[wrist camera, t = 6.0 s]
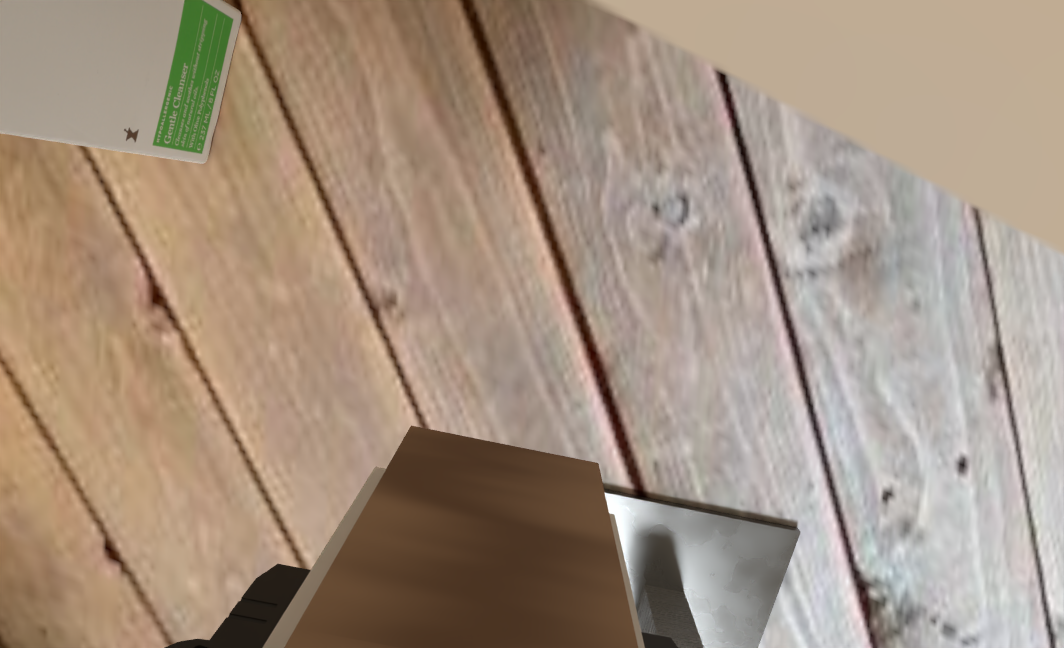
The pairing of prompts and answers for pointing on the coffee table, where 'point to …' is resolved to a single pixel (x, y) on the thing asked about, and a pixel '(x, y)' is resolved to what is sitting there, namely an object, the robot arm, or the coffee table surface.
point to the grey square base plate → (701, 570)
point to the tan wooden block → (475, 555)
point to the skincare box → (116, 73)
